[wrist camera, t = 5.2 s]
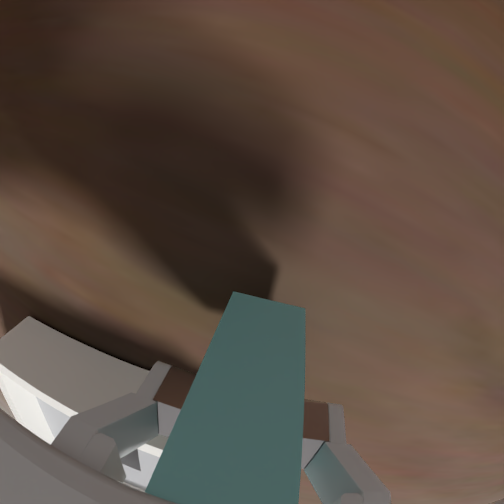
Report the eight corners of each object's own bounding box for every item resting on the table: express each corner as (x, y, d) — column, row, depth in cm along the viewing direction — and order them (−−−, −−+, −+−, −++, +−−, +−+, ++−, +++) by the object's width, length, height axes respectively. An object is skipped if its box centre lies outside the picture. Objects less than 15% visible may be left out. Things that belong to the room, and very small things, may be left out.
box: (240, 399, 16) (224, 468, 12) (209, 491, 22) (198, 532, 17) (28, 315, 17) (-15, 351, 12) (65, 433, 23) (44, 465, 18)
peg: (305, 308, 12) (290, 573, 3) (286, 361, 13) (255, 581, 4) (233, 291, 12) (125, 537, 3) (222, 346, 13) (142, 554, 4)
